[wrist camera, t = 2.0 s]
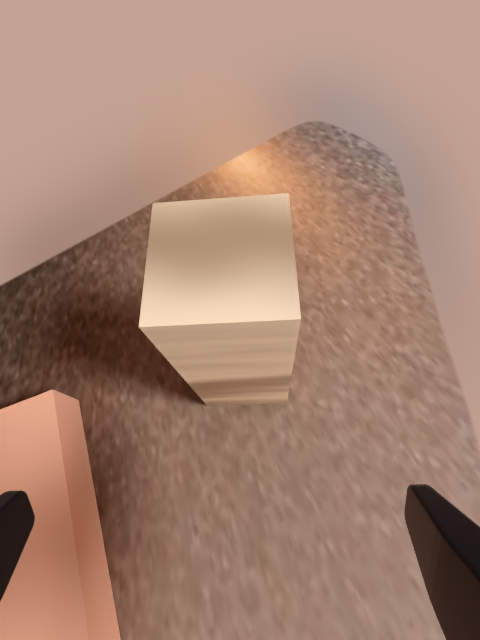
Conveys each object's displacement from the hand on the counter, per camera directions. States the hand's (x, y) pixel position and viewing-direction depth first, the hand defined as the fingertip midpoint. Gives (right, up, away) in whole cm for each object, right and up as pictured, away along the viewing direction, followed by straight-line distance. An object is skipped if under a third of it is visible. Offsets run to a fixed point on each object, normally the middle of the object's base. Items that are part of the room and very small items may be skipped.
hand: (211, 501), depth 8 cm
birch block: (+1, +1, +15) cm, 15 cm away
